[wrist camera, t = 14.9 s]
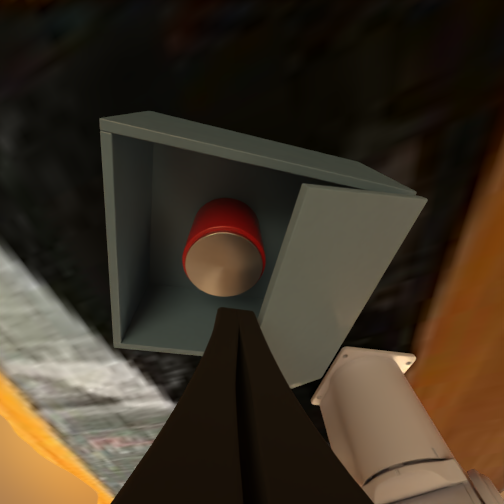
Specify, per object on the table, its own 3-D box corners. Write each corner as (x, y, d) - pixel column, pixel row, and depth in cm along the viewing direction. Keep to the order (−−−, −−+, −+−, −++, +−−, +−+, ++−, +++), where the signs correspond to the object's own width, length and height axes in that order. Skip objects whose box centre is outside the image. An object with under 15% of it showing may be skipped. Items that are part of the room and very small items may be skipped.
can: (251, 261, 19) (255, 304, 15) (189, 251, 18) (177, 293, 14) (266, 204, 16) (276, 237, 13) (197, 190, 16) (185, 221, 12)
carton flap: (420, 196, 10) (428, 199, 10) (318, 372, 16) (321, 378, 16) (301, 182, 7) (308, 186, 7) (229, 403, 13) (231, 410, 13)
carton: (358, 161, 16) (417, 191, 11) (298, 304, 21) (318, 367, 16) (148, 110, 14) (98, 117, 9) (144, 283, 19) (113, 347, 14)
